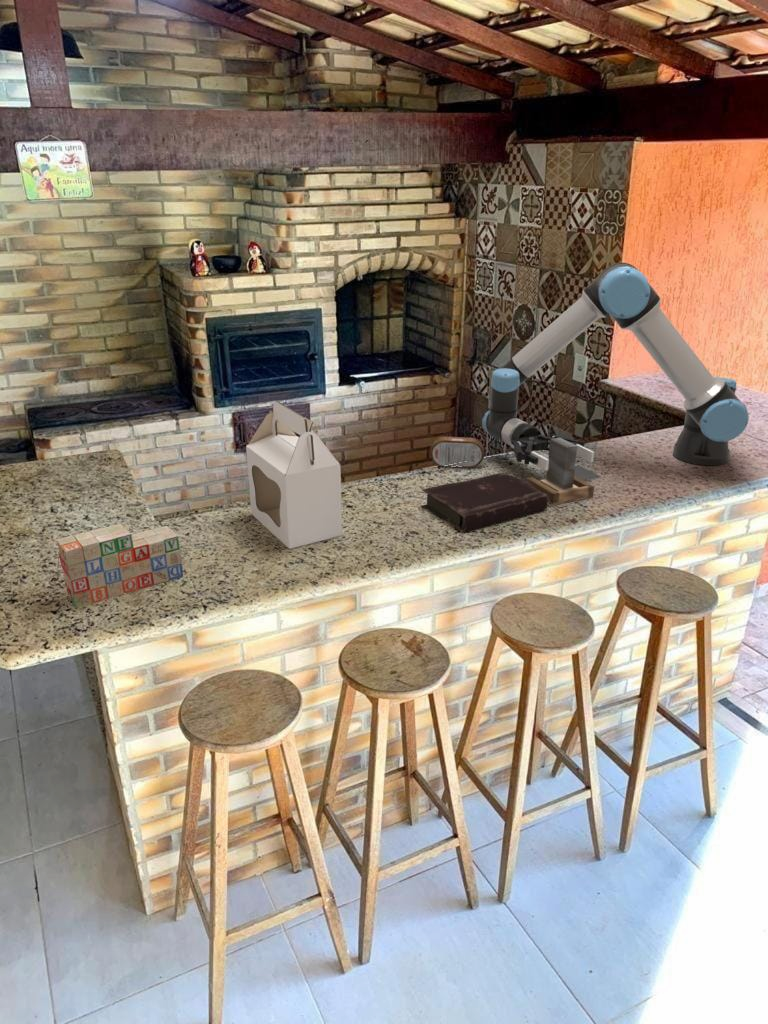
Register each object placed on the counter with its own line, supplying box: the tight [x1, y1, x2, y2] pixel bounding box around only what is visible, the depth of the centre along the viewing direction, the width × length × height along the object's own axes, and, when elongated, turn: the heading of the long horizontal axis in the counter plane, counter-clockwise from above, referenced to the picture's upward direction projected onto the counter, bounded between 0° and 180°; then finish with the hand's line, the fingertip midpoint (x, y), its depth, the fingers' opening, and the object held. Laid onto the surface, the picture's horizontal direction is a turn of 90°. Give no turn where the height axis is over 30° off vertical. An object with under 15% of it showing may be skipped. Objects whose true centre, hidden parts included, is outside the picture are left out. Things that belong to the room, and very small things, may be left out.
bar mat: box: [574, 464, 602, 482], centre depth 206 cm, size 10×10×1 cm
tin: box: [429, 436, 485, 469], centre depth 210 cm, size 15×3×8 cm, turn 84°
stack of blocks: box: [56, 523, 184, 609], centre depth 149 cm, size 21×6×12 cm, turn 125°
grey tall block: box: [539, 438, 578, 492], centre depth 191 cm, size 6×8×13 cm
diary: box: [421, 472, 548, 533], centre depth 185 cm, size 19×25×5 cm
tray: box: [525, 476, 595, 506], centre depth 193 cm, size 12×12×3 cm
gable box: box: [245, 400, 343, 550], centre depth 171 cm, size 22×13×28 cm, turn 31°
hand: (570, 461), depth 187 cm, fingers open, 13 cm apart
